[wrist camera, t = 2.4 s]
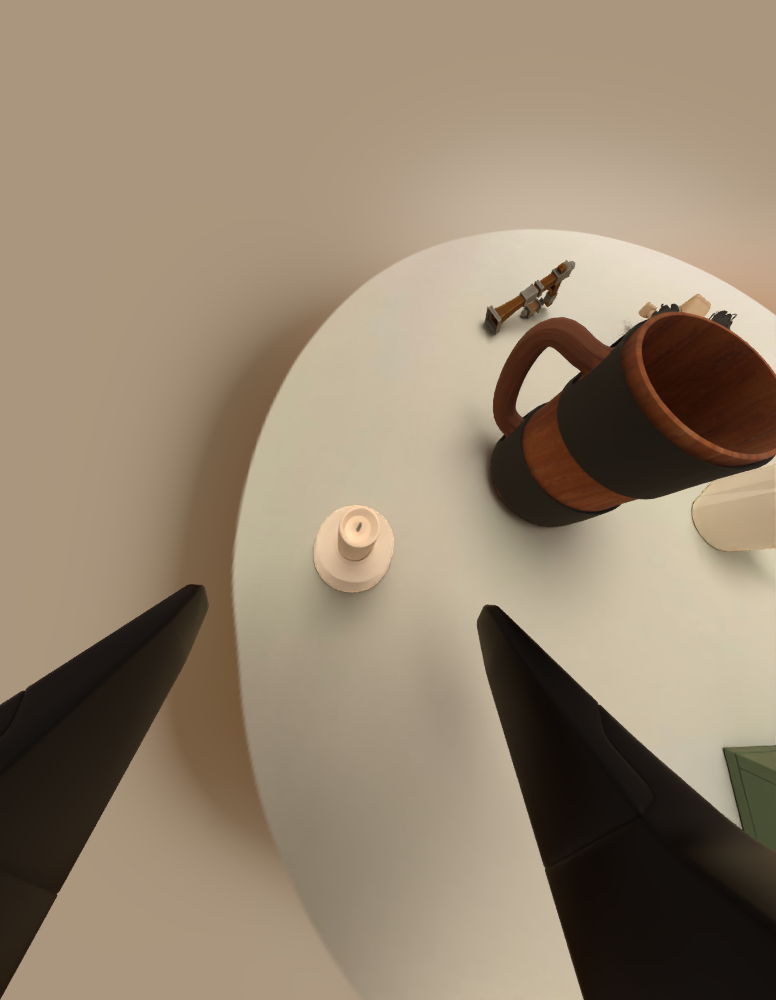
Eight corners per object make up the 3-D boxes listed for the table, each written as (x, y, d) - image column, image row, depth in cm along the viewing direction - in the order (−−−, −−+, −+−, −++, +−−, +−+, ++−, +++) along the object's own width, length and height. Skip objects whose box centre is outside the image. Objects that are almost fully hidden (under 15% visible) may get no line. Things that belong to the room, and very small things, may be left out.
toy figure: (631, 298, 31) (601, 382, 26) (705, 236, 26) (686, 327, 20) (677, 337, 32) (656, 427, 27) (759, 285, 26) (754, 386, 21)
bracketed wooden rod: (563, 303, 28) (584, 262, 23) (491, 350, 29) (498, 320, 25) (553, 290, 28) (572, 247, 24) (482, 337, 29) (487, 305, 25)
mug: (491, 388, 25) (611, 230, 14) (599, 477, 24) (824, 386, 13) (432, 449, 22) (520, 316, 11) (550, 552, 21) (779, 521, 10)
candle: (333, 607, 18) (317, 642, 8) (301, 534, 19) (252, 484, 9) (403, 570, 19) (465, 560, 9) (371, 503, 20) (395, 430, 10)
